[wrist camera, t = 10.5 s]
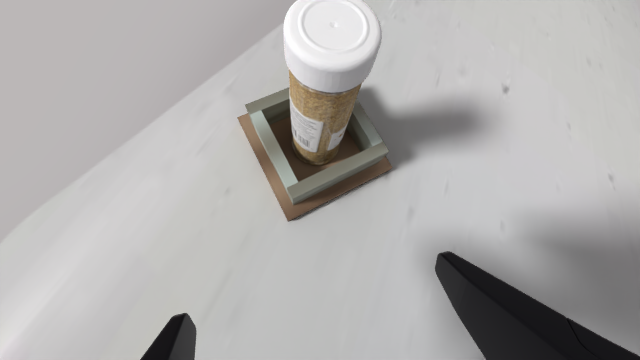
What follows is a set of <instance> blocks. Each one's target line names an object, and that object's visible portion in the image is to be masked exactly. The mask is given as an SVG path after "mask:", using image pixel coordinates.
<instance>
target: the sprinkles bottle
mask: <svg viewBox="0 0 640 360" xmlns="http://www.w3.org/2000/svg"><path fill="white" fill-rule="evenodd" d="M381 39H382V33H381V26H380V22H379V20H378V18H377V16H376V14H375V13H374V12H373V10H372V9H371V8H370V7H369V6H368V5H367V4H366V3H365V2H364V1H362V0H297V1H296V2H295V3H294V4H293V5H292V6H291V7H290V9H289V11H288V12H287V14H286V17H285V21H284V52H285V60H286V63H287V66H288V68H289V78H290V87H289V97H290V112H291V126H292V133H293V137H292V147H293V149H294V152H295V154H296V156H297V157H298V158H299V159H300V160H302V161H303V162H305V163H307V164H310V165H323V164H326V163H328V162H329V161H331V160H332V159H333V158H334V157H335V156H336V154H337V152H338V150H339V146H340V141H341V140H342V138H343V135H344V132H345V129H346V127H347V124H348V121H349V119H350V116H351V113H352V110H353V107H354V103H355V100H356V97H357V95H358V92H359V89H360V87H361V84H362V82H363V81H364V80H365V79H366V78H367V76H368V75H369V73H370V71H371V69H372V66H373V64H374V61H375V59H376V56H377V53H378V50H379V47H380V44H381Z"/></svg>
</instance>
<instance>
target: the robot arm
mask: <svg viewBox="0 0 640 360" xmlns="http://www.w3.org/2000/svg"><path fill="white" fill-rule="evenodd" d="M435 272H436V274H437V276H438V278H439V280H440V282H441V284H442V286H443V288H444V290H445V292H446V294H447V296H448V298H449V300H450V302H451V304H452V305H453V307H454V309H455V311H456V313H457V315H458V316H459V318H460V319H461V321H462V323H463V324H464V326H465V327H466V329H467V330H468V332H469V333H470V335H471V337H472V338H473V340H474V341H475V343H476V344H477V346H478V347H479V349H480V351H481V352H482V354H483V355H484V357H485V358H486V360H640V356H638V355H636V354H634V353H632V352H630V351H628V350H626V349H625V348H623V347H621V346H619V345H617V344H615V343H613V342H611V341H609V340H607V339H605V338H603V337H601V336H600V335H598V334H596V333H594V332H592V331H590V330H589V329H587V328H585V327H583V326H581V325H580V324H578V323H576V322H574V321H573V320H571V319H569V318H566V317H565V316H564V315H562V314H560V313H558V312H556V311H555V310H553V309H551V308H549V307H548V306H546V305H544V304H542V303H541V302H539V301H537V300H535V299H533V298H532V297H530V296H528V295H526V294H525V293H523V292H521V291H519V290H518V289H516V288H514V287H512V286H510V285H509V284H507V283H505V282H503V281H502V280H500V279H498V278H496V277H494V276H493V275H491V274H489V273H487V272H486V271H484V270H482V269H480V268H479V267H477V266H475V265H473V264H471V263H470V262H468V261H466V260H464V259H463V258H461V257H459V256H457V255H456V254H454V253H452V252H449V251H447V252H443V253H439V254H438V256H437V261H436V265H435ZM195 344H196V327H195V325H194V323H193V321H192V320H191V318H190V316H189V315H188V314H187V313H182V314H178V315H175V316H173V317H172V318H171V319H170V320H169V322H168V323H167V324H166V326H165V327H164V328H163V330H162V331H161V332H160V334H159V335H158V336H157V338H156V339H155V340H154V342H153V343H152V345H151V346H150V347H149V349H148V350H147V351H146V353H145V354H144V355H143V357H142V358H141V359H140V360H194V358H195Z"/></svg>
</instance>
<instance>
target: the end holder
mask: <svg viewBox="0 0 640 360" xmlns="http://www.w3.org/2000/svg"><path fill="white" fill-rule="evenodd" d="M245 106H246V109H247V112H248V113H247V114H245V115H242V116H240V117H237V118H238V120H239V122H240V124H241V126H242V128H243V130H244V132H245V134H246V136H247V138H248V141H249V143H250V145H251V147H252V149H253V151H254V153H255V155H256V157H257V159H258V161H259V163H260V165H261V167H262V169H263V171H264V173H265V175H266V177H267V179H268V181H269V183H270V185H271V187H272V189H273V191H274V194H275V196H276V198H277V200H278V202H279V204H280V206H281V208H282V210H283V212H284V214H285V216H286V218H287V220H288V221H290V220H292V219H294V218H296V217H298V216H300V215H302V214H304V213H306V212H308V211H310V210H312V209H314V208H316V207H318V206H320V205H322V204H324V203H326V202H328V201H330V200H332V199H334V198H336V197H338V196H339V195H341V194H343V193H345V192H347V191H349V190H351V189H353V188H355V187H357V186H359V185H361V184H363V183H365V182H367V181H369V180H371V179H373V178H375V177H377V176H379V175H381V174H383V173H385V172H387V171H389V170H390V169H391V168H392V166H391V164H390V163H389V161H388V159H387V158H386V156H385V155H386V154H387V153H388V152H389V150H388V149H387V147H386V145H385V144H384V142H383V141H382V139H381V137H380V136H379V134H378V132H377V131H376V129H375V128H374V126H373V124H372V123H371V121H370V119H369V118H368V116H367V114H366V113H365V111H364V110H363V108H362V106H361V105H360V103H359V101H358V100H357V98H356V100H355V103H354V107H353V110H352V113H351V116H350V119H349V121H348V124H347V127H346V129H345V132H344V135H343V138H342V140H341V141H340V146H339V150H338V152H337V154H336V156H335V157H334V158H333V159H332V160H331V161H329V162H328V163H326V164H323V165H310V164H307V163H305V162H303V161H302V160H300V159H299V158H298V157H297V156H296V154H295V152H294V149H293V147H292V137H293V133H292V126H291V112H290V97H289V88H286V89H284V90H281V91H279V92H276V93H274V94H271V95H269V96H266V97H264V98H261V99H259V100H256V101H254V102H251V103H249V104H246V105H245Z"/></svg>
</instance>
